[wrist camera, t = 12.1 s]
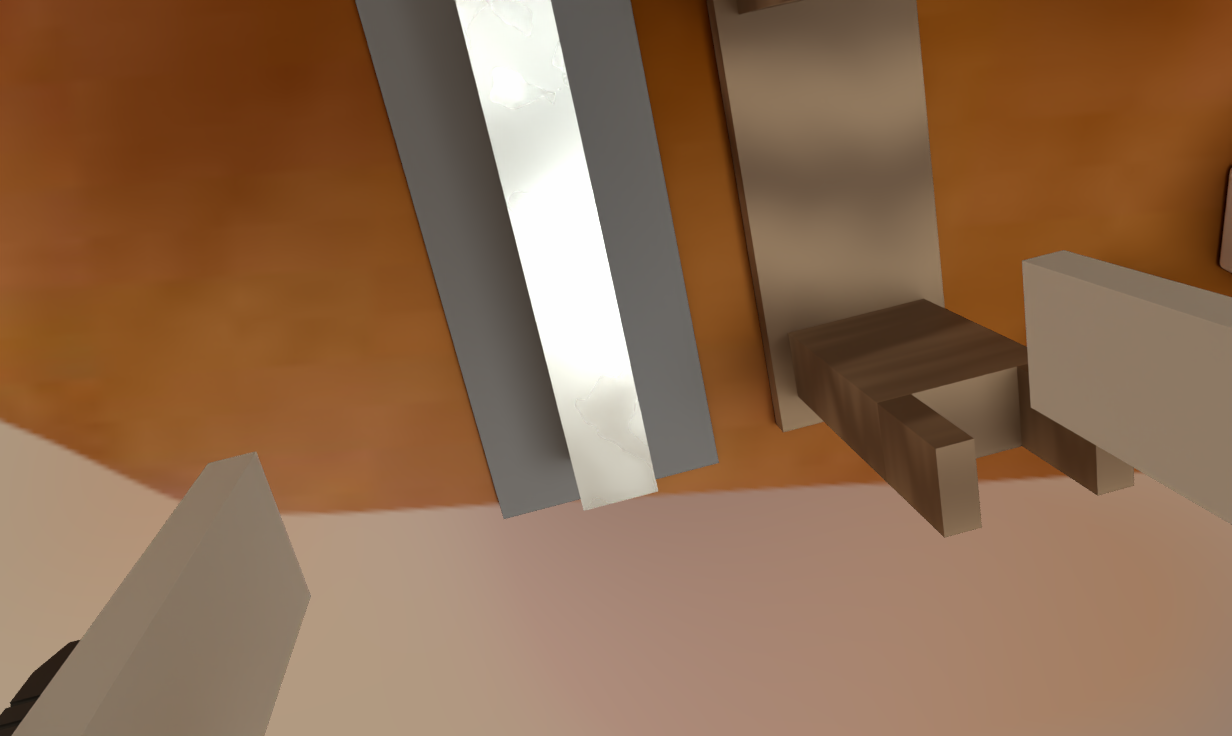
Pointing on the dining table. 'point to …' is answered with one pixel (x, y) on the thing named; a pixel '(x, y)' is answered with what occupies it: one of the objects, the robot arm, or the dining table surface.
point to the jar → (1227, 231)
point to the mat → (487, 251)
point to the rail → (559, 242)
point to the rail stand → (868, 257)
